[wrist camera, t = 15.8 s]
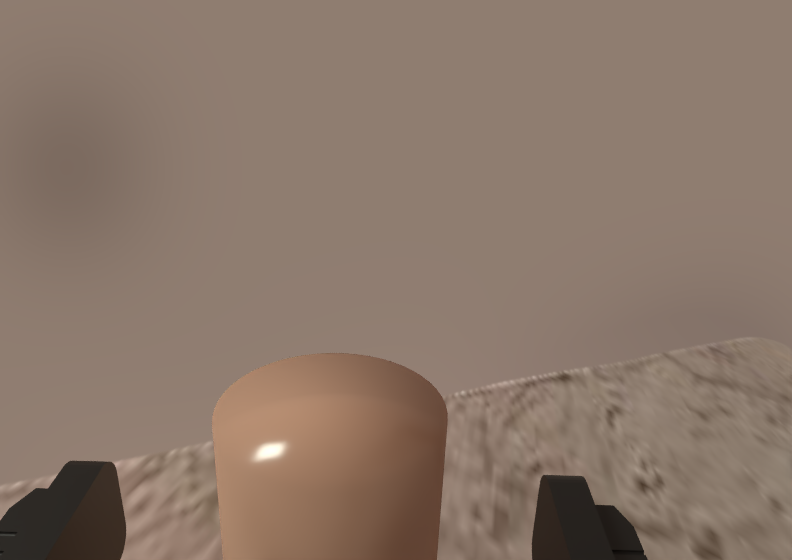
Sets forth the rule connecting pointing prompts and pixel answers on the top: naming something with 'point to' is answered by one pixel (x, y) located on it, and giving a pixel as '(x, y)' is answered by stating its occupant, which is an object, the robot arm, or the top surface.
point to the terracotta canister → (330, 461)
